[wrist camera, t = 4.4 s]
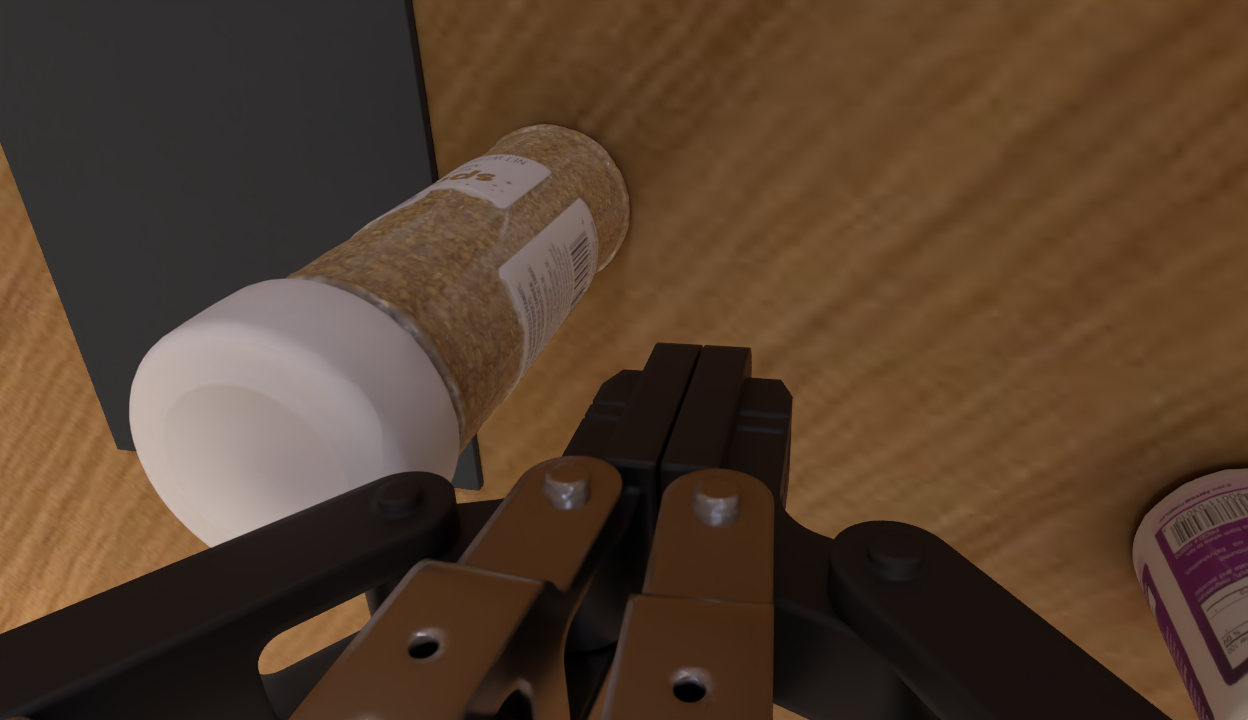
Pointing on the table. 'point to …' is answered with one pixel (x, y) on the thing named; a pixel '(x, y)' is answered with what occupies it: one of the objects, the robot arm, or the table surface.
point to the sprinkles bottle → (378, 339)
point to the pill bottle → (1201, 587)
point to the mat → (203, 154)
